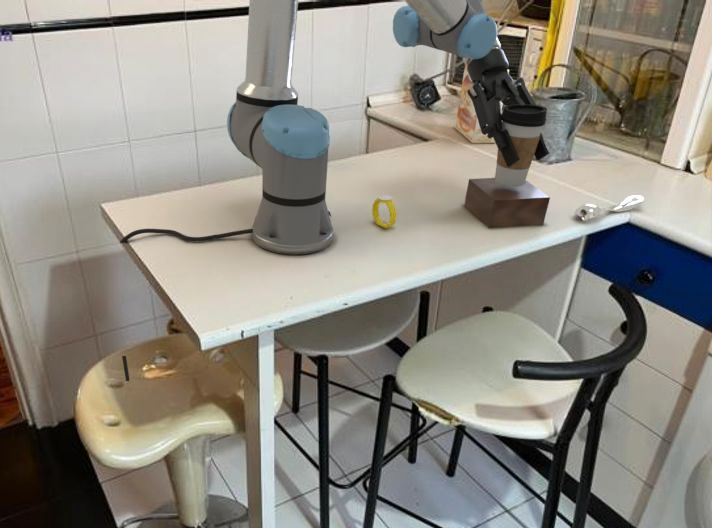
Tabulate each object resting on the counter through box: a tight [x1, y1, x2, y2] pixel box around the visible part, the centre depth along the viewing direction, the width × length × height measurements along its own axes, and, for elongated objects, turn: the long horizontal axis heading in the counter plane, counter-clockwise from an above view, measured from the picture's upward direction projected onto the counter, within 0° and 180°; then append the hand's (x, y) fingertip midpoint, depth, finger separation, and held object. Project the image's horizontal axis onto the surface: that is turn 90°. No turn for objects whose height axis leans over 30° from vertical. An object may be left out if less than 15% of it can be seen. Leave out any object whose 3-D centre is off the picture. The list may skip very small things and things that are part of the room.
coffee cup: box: [494, 104, 548, 187], centre depth 129 cm, size 8×8×15 cm
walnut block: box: [463, 177, 551, 229], centre depth 136 cm, size 12×12×6 cm
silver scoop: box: [573, 195, 645, 222], centre depth 139 cm, size 20×4×5 cm
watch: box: [371, 194, 397, 229], centre depth 129 cm, size 6×3×6 cm, turn 31°
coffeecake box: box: [454, 64, 510, 144], centre depth 181 cm, size 15×7×20 cm, turn 6°
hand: (528, 160), depth 128 cm, fingers closed on coffee cup, 8 cm apart
